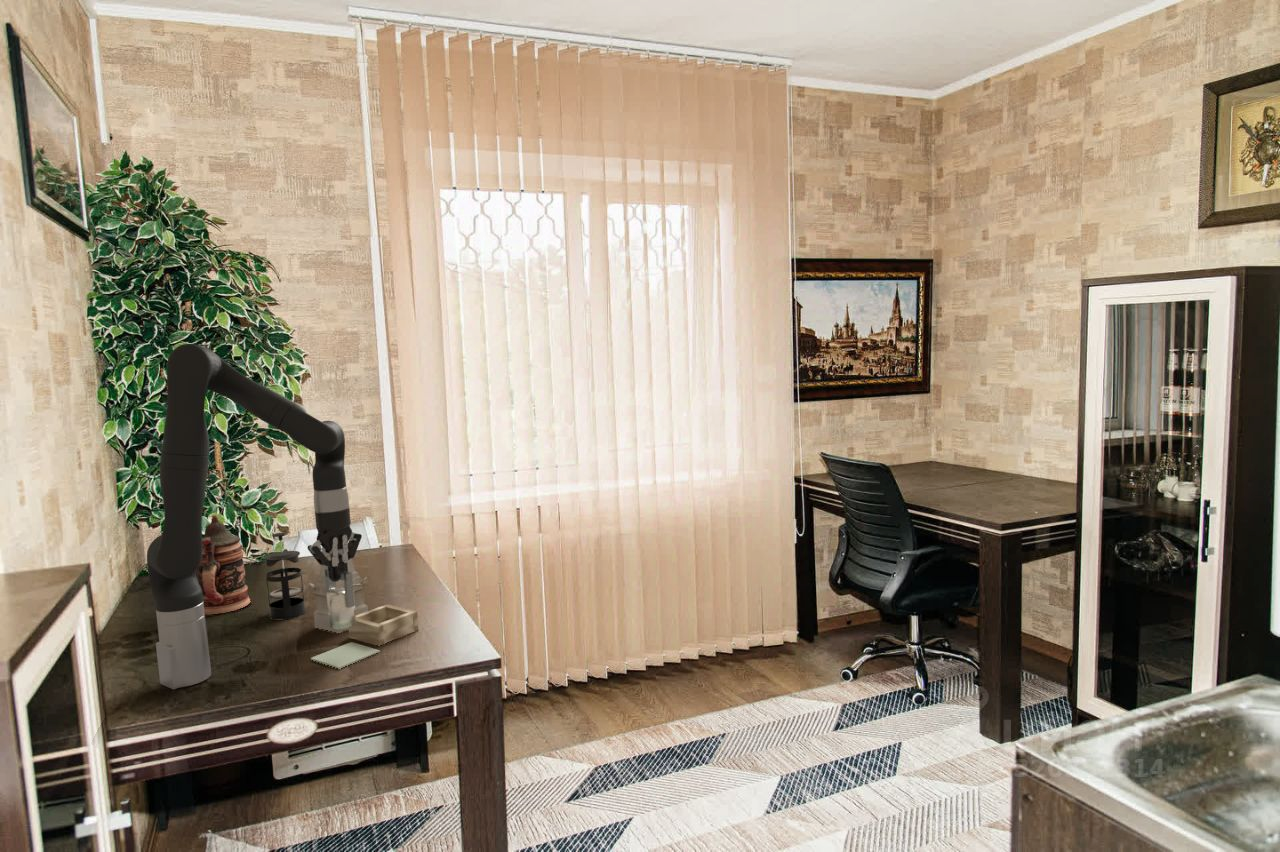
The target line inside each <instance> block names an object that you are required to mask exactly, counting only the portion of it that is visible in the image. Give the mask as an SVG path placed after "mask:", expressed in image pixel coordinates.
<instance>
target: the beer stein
mask: <svg viewBox="0 0 1280 852" xmlns="http://www.w3.org/2000/svg"><path fill="white" fill-rule="evenodd" d="M243 558H244V551H243V548H242V544H241V538H240V536H239V535H235V534H233V533H232V532H229V531H228V529H227V527H226V525H225V524H224V523H223V522H221V521H220V520H219V516H218V515H217V514H214V515H213V514H212V516H211V521H210V523H209V524H207V526H205V531H204V535H203V536H202V560H201V563H200V565H199V567H198V569H197V570H196V576H197V580H198V583H199V585H200V587H201V589H202V593H203V602H204V612H205V614H218V613H225V612H230V611H234V610H237V609H240V608H243V607H245V606H247V605H248V604H249V603H250V602H251V601H250V600H251V599H250V596H249V593H248V587H249V586H248V585H247V584H246V583H247V582H246V568H245V566H244V559H243ZM230 613H231V612H230Z"/></svg>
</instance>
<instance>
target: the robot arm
mask: <svg viewBox="0 0 1280 852" xmlns="http://www.w3.org/2000/svg"><path fill="white" fill-rule="evenodd" d="M166 387H167V388H166V391H167V392H166V393H167V396H166V397H167V401H166V402H167V403H166V404H167V405H166V406H167V407H166V415H165V421H164V430H163V439H162V446H161V453H160V454H161V455H160V464H159V482H160V483H159V484H160V490H161V491H160V492H161V497H162V502H163V508H164V519H163V528H162V534H160V535H158V536H157V537H155V538H154V539H153V540H152V541H151V543H150V544H149V546H148V548H147V552H146V553H147V554H146V563H147V573H148V579H149V580H148V581H149V584H150V586H149V587H150V592H151V596H152V598H153V601H154V606H155V613H156V614H155V615H156V622H157V623H156V624H157V632H158V640H159V641H157V642H156V643H155V649H156V658H157V665H158V666H157V667H158V674H159V675H158V676H159V683H160V685H162V686H164V687H166V688H170V689H172V690H176V689H179V688H185V687H189V686H193V685H196V684H199V683H202V682H204V681H206V680H207V679H209V678H210V677H211V676H212V668H211V667H212V666H211V660H210V659H211V657H210V651H209V641H208V632H207V623H206V615H205V612H204V602H203V593H202V589H201V587H200V585H199V583H198V580H197V569H198V567H199V565H200V563H201V560H202V538H203V511H204V504H205V497H206V489H207V488H206V487H207V477H208V472H209V471H208V470H209V465H210V463H209V462H210V449H211V448H210V438H209V436H210V435H209V432H208V427H207V422H206V415H205V414H206V413H205V405H206V404H205V403H206V402H205V401H206V395H207V390H208V391H210V392H212V393H213V392H214V393H216V394H218V395H221V396H223V397H225V398H227V399H228V400H229V399H230V401H232V402H234V403H236V404H238V405H239V406H240V407H242V408H243V409H245V410H246V411H247V412H249V413H250V414H251V415H253V416H255V417H256V418H258V419H259V420H261V421H263V422H264V423H266V424H268V425H270V426H272V427H274V429H277V430H279V431H281V432H283V433H284V434H287V435H288V436H289V437H290V438H292V439H293V440H294V441H296V442H297V443H298V444H300V445H301V446H302V447H304V448H305V449H307V450H309V451H311V452H313V453H314V459H315V460H314V461H315V462H314V465H313V467H312V484H313V485H312V486H313V505H314V508H313V509H314V516H315V517H314V519H315V527H316V530H317V535H316V541H314V543H312V544H308V546H307V550H308V552H309V553H310V554H311V556H312V557H313V558H314V559H315V561H317V563H318V565H320V566H321V565H325V566H327V567H328V574H329V579H331V581H333V582H337V581H339V577H338V570H342V571H347V572H348V565H347V562H348V560H350V559H351V558H352V559H354V558H355V555H356V554H357V553H356V552H357V550H358V548H359V545H360V543H361V539H362V536H363V535H362V534H361V533H358V532H353V530H352V528H351V523H352V521H351V520H352V519H351V511H350V501H349V499H350V498H349V493H348V489H347V480H346V472H345V458H346V457H345V454H346V438H345V432H344V430H343V428H342V426H340V424H339V423H337V422H335V421H333V420H324V421H323V420H322V421H321V420H319V419H318V418H316V417H314V416H312V415H311V414H309V413H308V412H307V410H306V408H304V407H303V406H301V405H300V404H299V403H296V402H295V401H292V400H290V399H289V398H287V397H286V396H284V395H282V394H280V393H278V392H276V391H274V390H272V389H270V388H268V387H266V386H264V385H262V384H260V383H259V382H256V381H254V380H253V379H251V378H249V377H248V376H246V375H244V374H243V373H241V372H240V371H238V370H237V369H236V368H234V367H233V366H232V365H230V364H229V363H228V362H227V361H225V360H224V359H223V358H221V357H220V356H219V355H218V354H216V353H215V352H214V351H213V350H212V349H210V348H208V347H206V346H202V345H198V344H196V343H195V344H194V343H183V344H180V345H178V346H177V347H175V348H174V349H173V350H172V351H171V352H170V354H169V356H168V359H167V361H166ZM347 543H348V545H347ZM322 547H323V548H324V554H323V553H322ZM336 557H337V558H336ZM337 560H338V562H339V563H337ZM337 564H338V566H336V565H337Z"/></svg>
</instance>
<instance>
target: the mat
mask: <svg viewBox="0 0 1280 852" xmlns="http://www.w3.org/2000/svg"><path fill="white" fill-rule="evenodd" d="M378 652H380V653H381V651H380V650H379V649H376V648H372V647H370V646H366V645H362V644H359V643H355V642H352V641H350V642H348V643H345V644H343V645H340V646H338V647H335V648H333V649H330V650H327V651H326V652H322V653H321V654H317V655H315V656H312V657H310V660H311V661H312V660H313V661H312V662H315V661H316V662H315V663H318V662H319V663H318V664H321V663H322V664H321V665H324V664H325V665H324V666H327V665H329V666H328V667H330V666H332V667H331V668H333V667H335V668H334V669H336V668H338V669H337V670H339V669H340V670H342V669H341V668H343V667H345V666H347V667H349V666H348V665H350V664H352V665H354V664H353V663H355V662H357V661H359V660H361V659H364V658H366V657H368V656H371V655H373V654H376V653H378ZM378 654H379V653H378ZM376 655H377V654H376ZM371 657H372V656H371ZM366 659H367V658H366ZM364 660H365V659H364ZM359 662H360V661H359ZM357 663H358V662H357ZM355 664H356V663H355ZM350 666H351V665H350ZM345 668H346V667H345ZM343 669H344V668H343Z"/></svg>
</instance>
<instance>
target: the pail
mask: <svg viewBox="0 0 1280 852" xmlns="http://www.w3.org/2000/svg"><path fill="white" fill-rule="evenodd" d="M338 577H339V579H340V580H344V588H337V589H335V582H333V581H331V579H329V574H328V569H325V578H326V588H327V593H326V595H327V606H328V617H329V627H330V628H331V629H344V628H348V627H351V626H353V625H355V624H356V611H355V600H354V589H353V578H352V572H347V571H342V570H338Z"/></svg>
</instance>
